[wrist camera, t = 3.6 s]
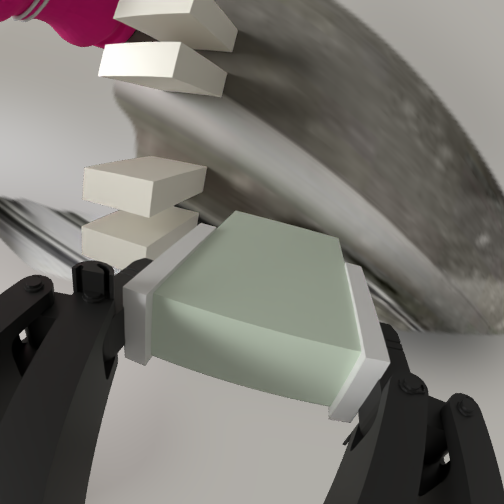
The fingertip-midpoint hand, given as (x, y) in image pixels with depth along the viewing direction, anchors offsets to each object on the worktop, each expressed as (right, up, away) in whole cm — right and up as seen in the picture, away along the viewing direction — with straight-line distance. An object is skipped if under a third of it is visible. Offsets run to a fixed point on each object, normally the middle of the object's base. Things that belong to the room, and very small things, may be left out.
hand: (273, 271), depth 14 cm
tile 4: (-6, +17, +11) cm, 21 cm away
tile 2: (-8, +8, +14) cm, 18 cm away
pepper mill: (-15, +25, +10) cm, 31 cm away
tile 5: (-5, +21, +9) cm, 23 cm away
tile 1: (-9, +4, +16) cm, 19 cm away
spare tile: (+1, +1, +4) cm, 4 cm away
